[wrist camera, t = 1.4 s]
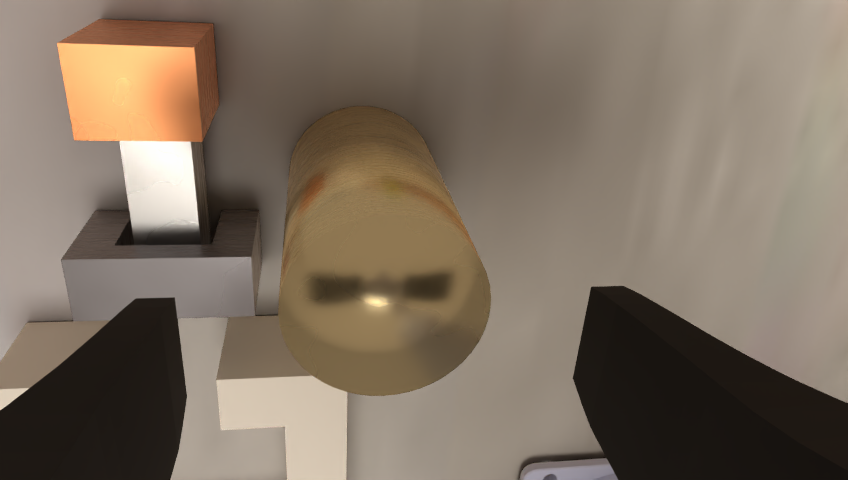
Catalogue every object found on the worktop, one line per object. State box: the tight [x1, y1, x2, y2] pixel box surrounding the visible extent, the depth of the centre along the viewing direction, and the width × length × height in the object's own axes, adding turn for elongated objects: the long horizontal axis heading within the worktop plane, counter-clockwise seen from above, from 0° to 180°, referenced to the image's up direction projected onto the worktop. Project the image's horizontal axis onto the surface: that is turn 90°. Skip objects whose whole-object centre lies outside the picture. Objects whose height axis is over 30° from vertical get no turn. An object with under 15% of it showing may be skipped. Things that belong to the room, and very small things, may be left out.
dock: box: [0, 315, 347, 480], centre depth 21 cm, size 9×9×3 cm
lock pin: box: [57, 19, 219, 245], centre depth 16 cm, size 3×7×3 cm, turn 176°
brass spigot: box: [278, 106, 491, 396], centre depth 16 cm, size 4×4×7 cm
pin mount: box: [61, 210, 262, 321], centre depth 18 cm, size 4×2×3 cm, turn 86°
